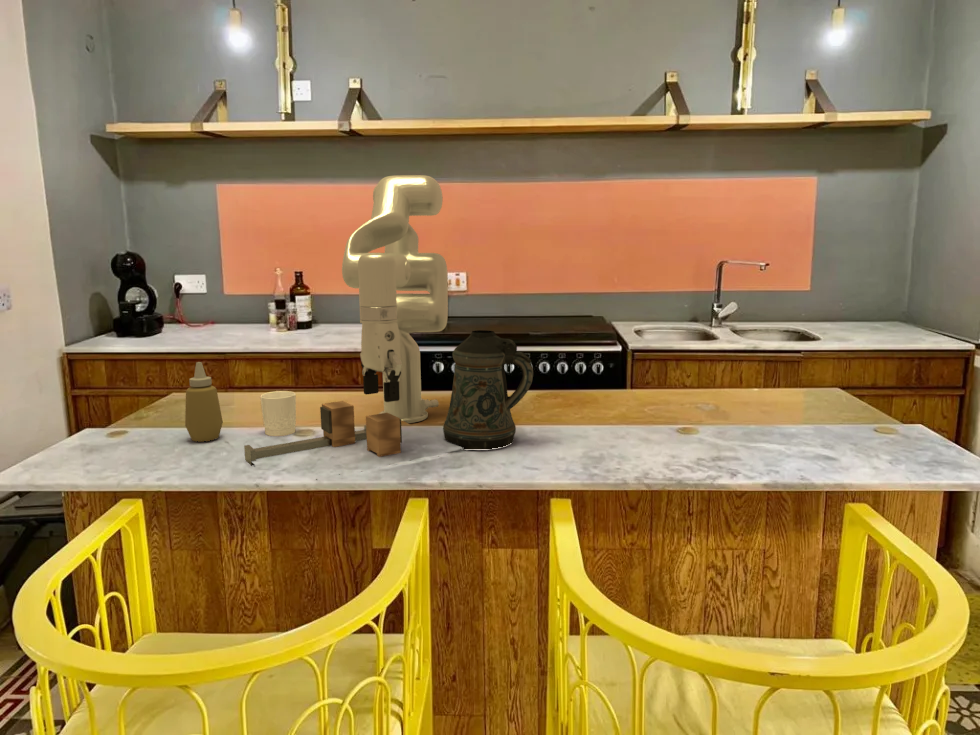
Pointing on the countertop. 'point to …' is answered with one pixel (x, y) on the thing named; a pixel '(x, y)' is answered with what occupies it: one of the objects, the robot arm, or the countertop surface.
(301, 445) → the rail
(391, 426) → the brown capped cube
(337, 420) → the wooden block
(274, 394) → the white cup
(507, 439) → the beer stein
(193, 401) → the squeeze bottle
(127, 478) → the countertop surface
